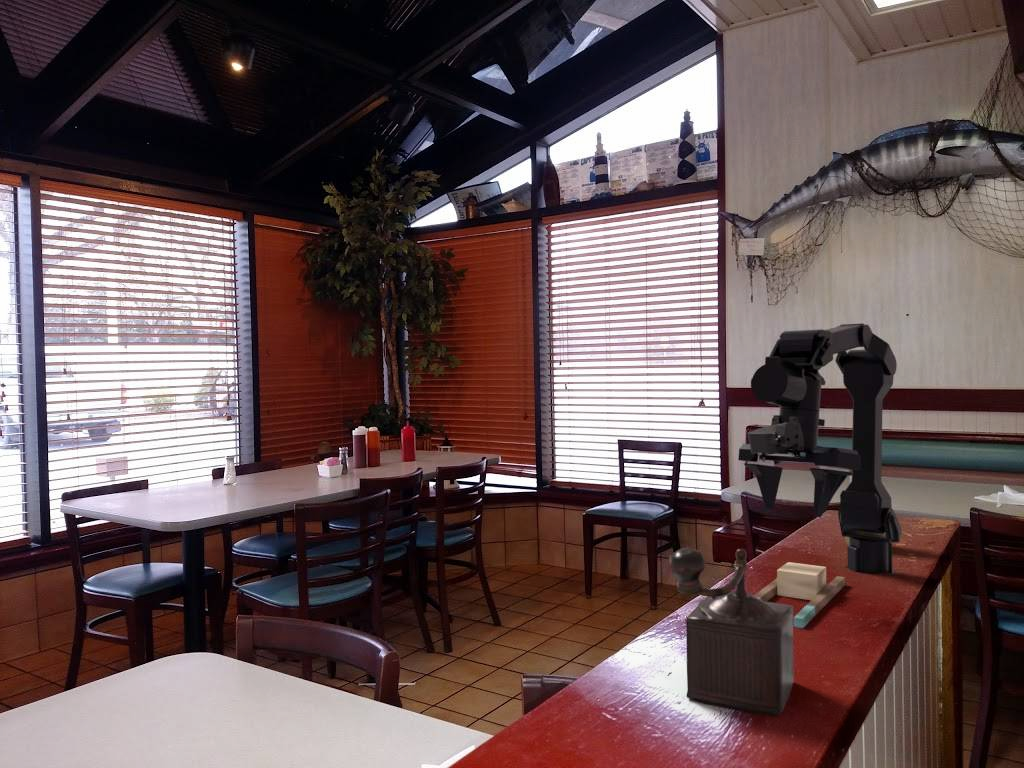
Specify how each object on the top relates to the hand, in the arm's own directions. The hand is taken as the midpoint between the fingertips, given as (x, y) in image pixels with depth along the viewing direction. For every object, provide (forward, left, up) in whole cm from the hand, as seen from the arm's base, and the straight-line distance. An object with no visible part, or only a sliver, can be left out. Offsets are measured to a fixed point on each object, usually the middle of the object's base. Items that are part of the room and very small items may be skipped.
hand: (792, 513), depth 117 cm
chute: (-2, -4, -15) cm, 16 cm away
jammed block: (-5, -6, -14) cm, 16 cm away
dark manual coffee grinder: (+22, +27, -15) cm, 38 cm away
